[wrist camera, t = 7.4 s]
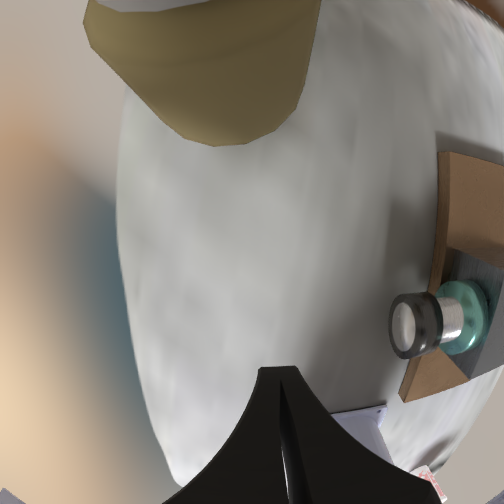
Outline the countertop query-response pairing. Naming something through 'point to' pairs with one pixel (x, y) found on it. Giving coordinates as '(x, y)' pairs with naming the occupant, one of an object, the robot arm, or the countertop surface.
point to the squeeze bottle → (209, 60)
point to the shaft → (439, 320)
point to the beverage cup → (429, 479)
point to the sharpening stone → (465, 268)
